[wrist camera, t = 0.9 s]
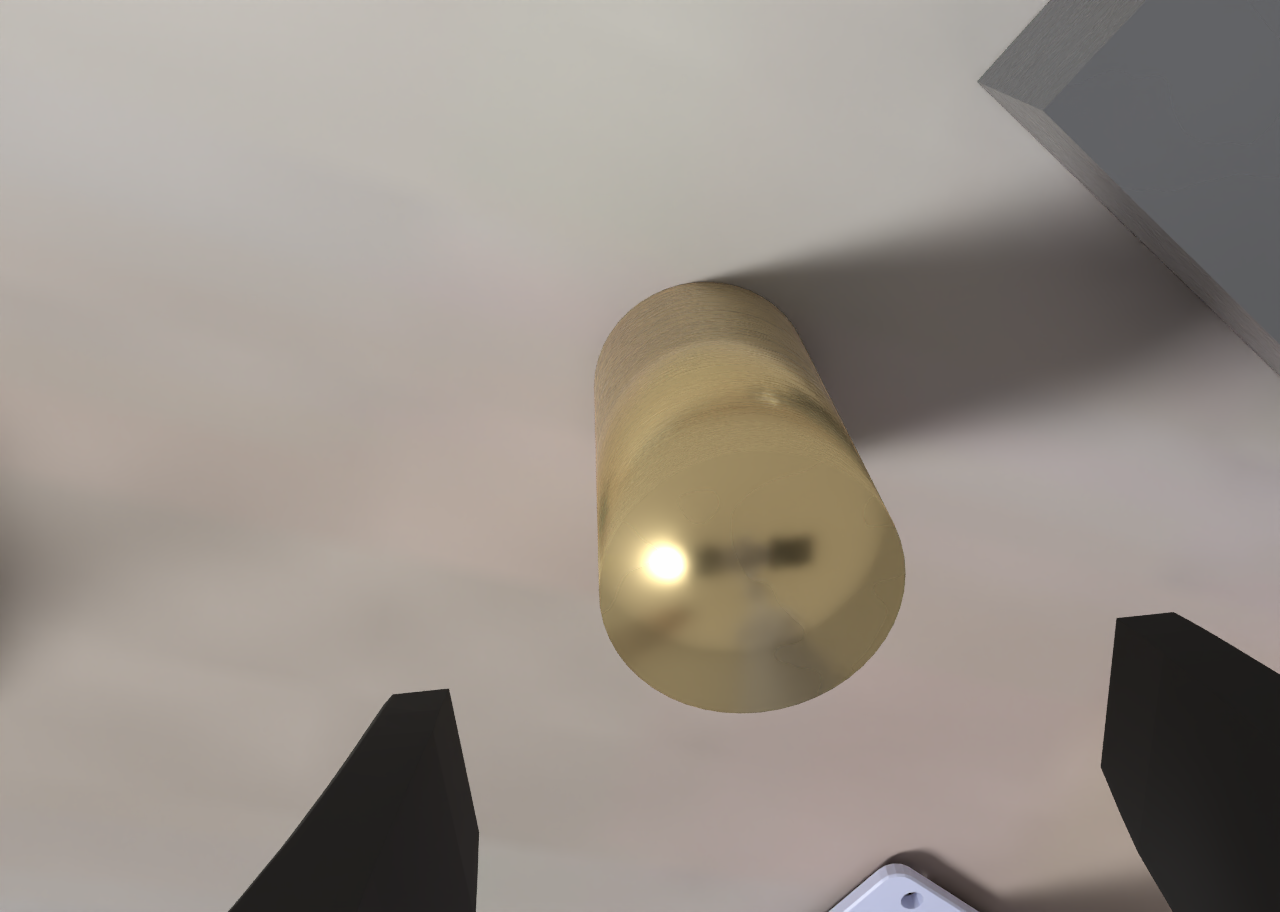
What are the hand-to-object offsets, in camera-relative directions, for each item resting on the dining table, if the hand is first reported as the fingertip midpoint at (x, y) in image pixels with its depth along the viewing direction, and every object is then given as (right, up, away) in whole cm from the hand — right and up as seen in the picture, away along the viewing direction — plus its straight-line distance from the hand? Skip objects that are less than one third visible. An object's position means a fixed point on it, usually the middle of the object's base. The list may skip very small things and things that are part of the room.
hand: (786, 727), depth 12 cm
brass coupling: (0, +4, +9) cm, 10 cm away
